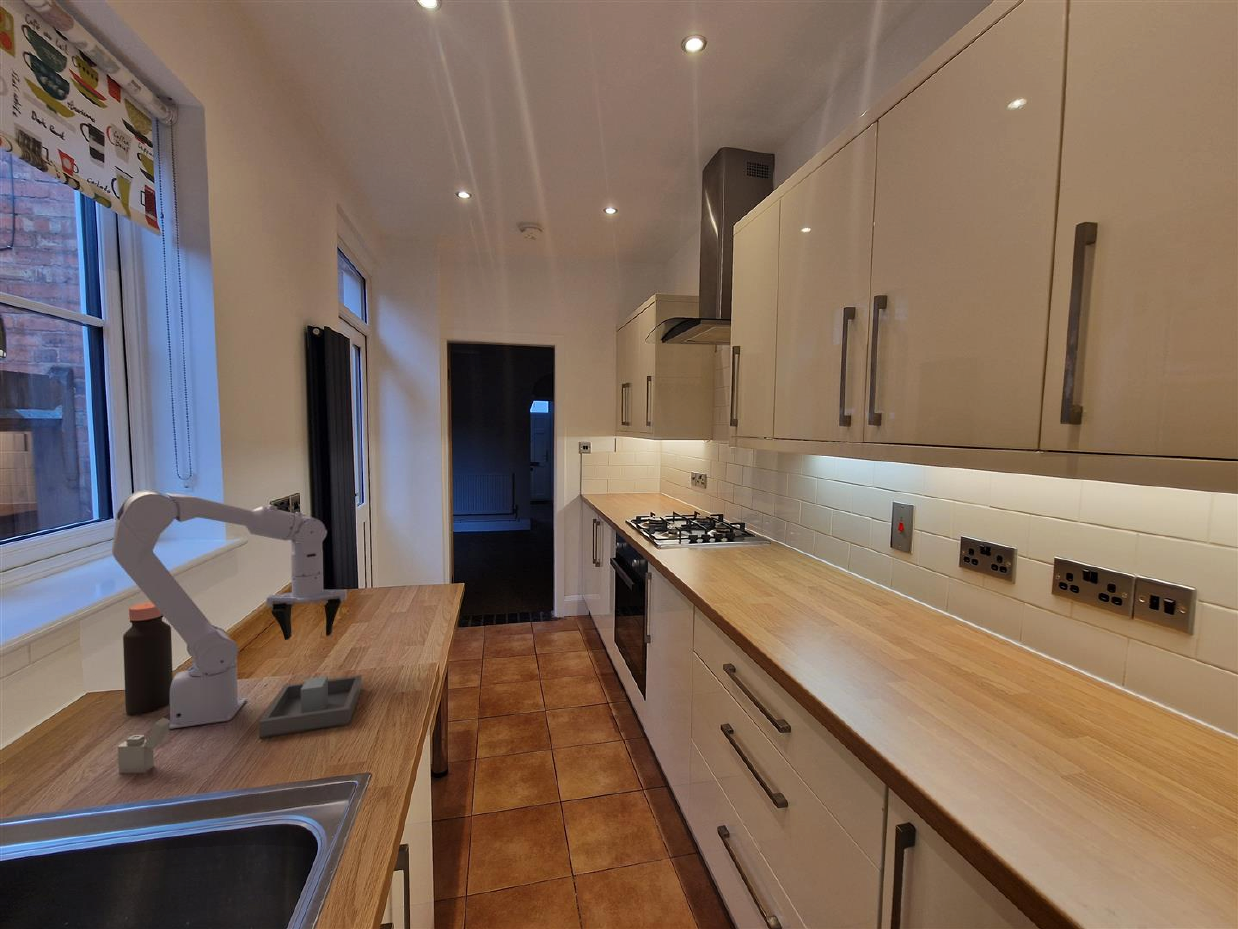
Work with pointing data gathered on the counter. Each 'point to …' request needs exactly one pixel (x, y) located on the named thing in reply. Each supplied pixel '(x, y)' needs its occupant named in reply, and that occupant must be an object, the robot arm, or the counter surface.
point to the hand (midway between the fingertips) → (308, 636)
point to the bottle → (147, 660)
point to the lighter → (141, 749)
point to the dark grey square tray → (290, 720)
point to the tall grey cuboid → (314, 694)
